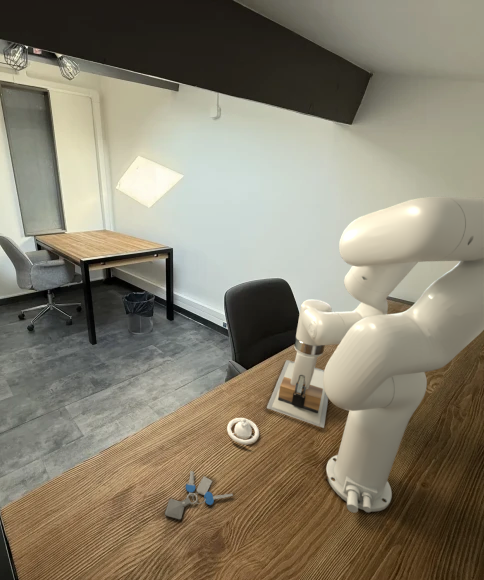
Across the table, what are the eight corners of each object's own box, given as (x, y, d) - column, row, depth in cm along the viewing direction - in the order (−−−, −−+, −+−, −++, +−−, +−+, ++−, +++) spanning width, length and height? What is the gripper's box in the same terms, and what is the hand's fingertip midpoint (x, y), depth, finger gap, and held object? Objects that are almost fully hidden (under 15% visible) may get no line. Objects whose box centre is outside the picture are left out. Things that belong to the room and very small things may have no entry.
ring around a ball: (247, 420, 82) (220, 428, 79) (249, 403, 79) (222, 411, 76) (264, 443, 75) (236, 453, 72) (267, 426, 73) (239, 435, 70)
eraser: (317, 413, 84) (321, 398, 82) (278, 400, 88) (280, 385, 87) (320, 402, 88) (323, 388, 86) (281, 390, 92) (284, 376, 91)
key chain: (168, 525, 56) (168, 522, 56) (155, 486, 63) (155, 483, 63) (233, 497, 61) (233, 494, 61) (215, 464, 68) (215, 461, 68)
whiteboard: (323, 431, 79) (324, 428, 79) (265, 410, 85) (266, 407, 85) (331, 374, 103) (332, 372, 102) (286, 362, 109) (286, 359, 109)
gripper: (300, 329, 90) (291, 380, 97) (288, 355, 76) (279, 413, 82) (327, 335, 87) (316, 387, 93) (320, 364, 73) (308, 424, 79)
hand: (299, 399), depth 88 cm, fingers closed on eraser, 5 cm apart
